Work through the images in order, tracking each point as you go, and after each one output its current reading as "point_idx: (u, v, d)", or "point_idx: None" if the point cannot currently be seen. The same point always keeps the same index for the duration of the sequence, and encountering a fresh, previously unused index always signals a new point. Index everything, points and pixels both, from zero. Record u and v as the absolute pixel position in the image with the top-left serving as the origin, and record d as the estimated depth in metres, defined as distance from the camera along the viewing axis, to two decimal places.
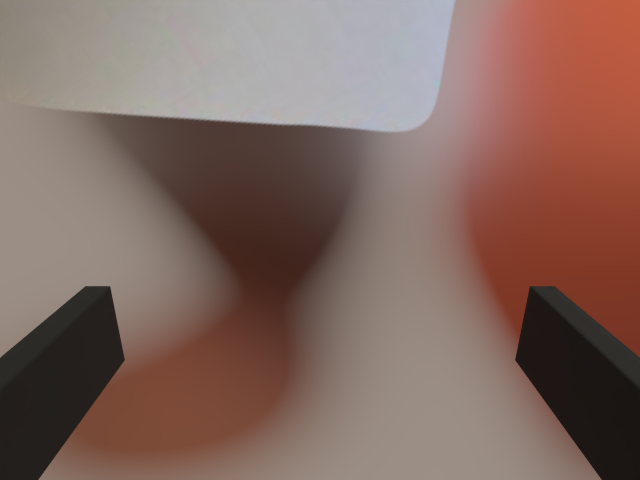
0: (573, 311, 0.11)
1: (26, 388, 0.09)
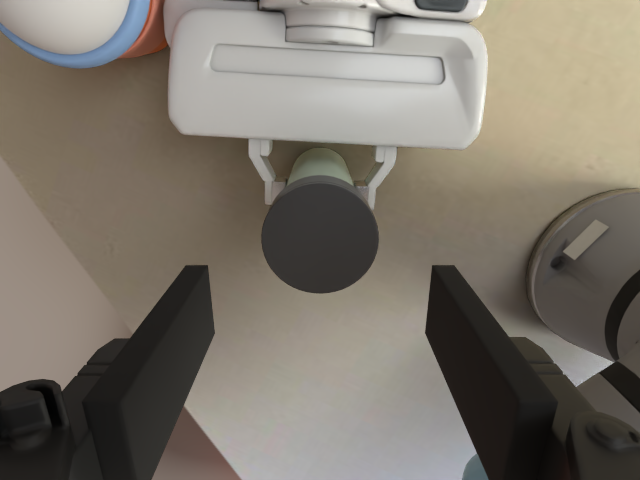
0: (459, 285, 0.13)
1: (169, 345, 0.10)
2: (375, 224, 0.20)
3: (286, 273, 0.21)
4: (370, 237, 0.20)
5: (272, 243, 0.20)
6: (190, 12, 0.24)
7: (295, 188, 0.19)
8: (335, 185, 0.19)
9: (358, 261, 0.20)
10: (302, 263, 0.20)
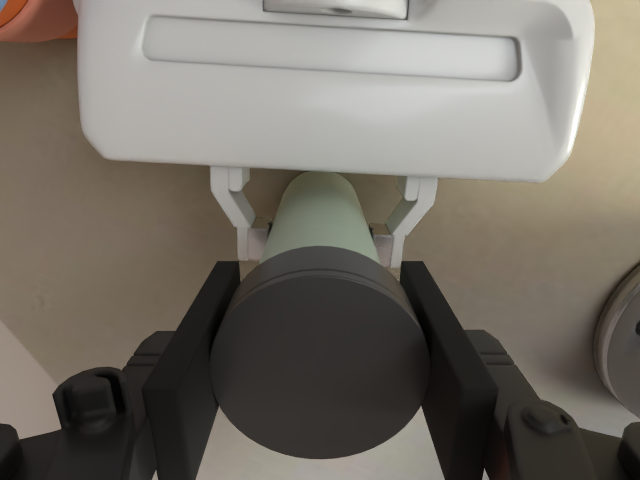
0: (424, 279, 0.13)
1: (212, 337, 0.11)
2: (426, 347, 0.10)
3: (258, 428, 0.11)
4: (415, 369, 0.11)
5: (230, 380, 0.11)
6: None
7: (271, 284, 0.10)
8: (350, 278, 0.10)
9: (391, 409, 0.11)
10: (287, 412, 0.11)
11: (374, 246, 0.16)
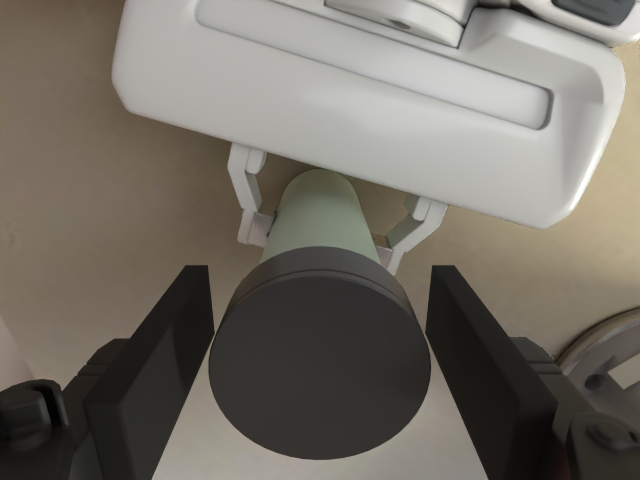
0: (459, 285, 0.13)
1: (169, 345, 0.10)
2: (365, 287, 0.10)
3: (326, 448, 0.11)
4: (380, 309, 0.10)
5: (267, 432, 0.11)
6: None
7: (211, 347, 0.10)
8: (252, 294, 0.10)
9: (401, 352, 0.10)
10: (331, 420, 0.11)
11: None
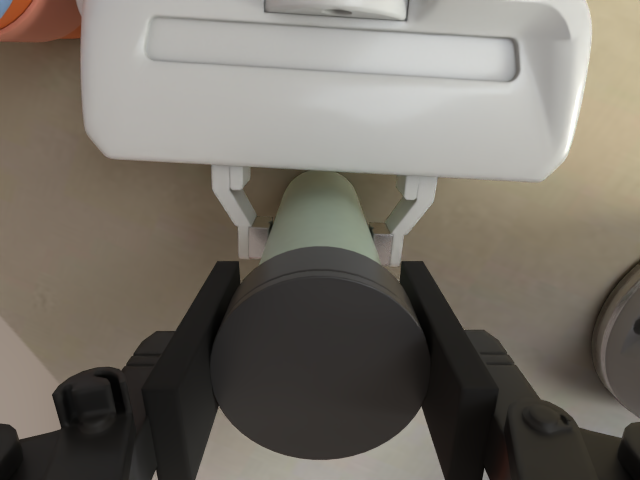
0: (424, 280, 0.13)
1: (211, 337, 0.11)
2: (341, 280, 0.10)
3: (346, 445, 0.11)
4: (361, 298, 0.10)
5: (284, 440, 0.11)
6: None
7: (210, 368, 0.11)
8: (234, 310, 0.10)
9: (394, 337, 0.10)
10: (343, 417, 0.11)
11: (374, 245, 0.16)
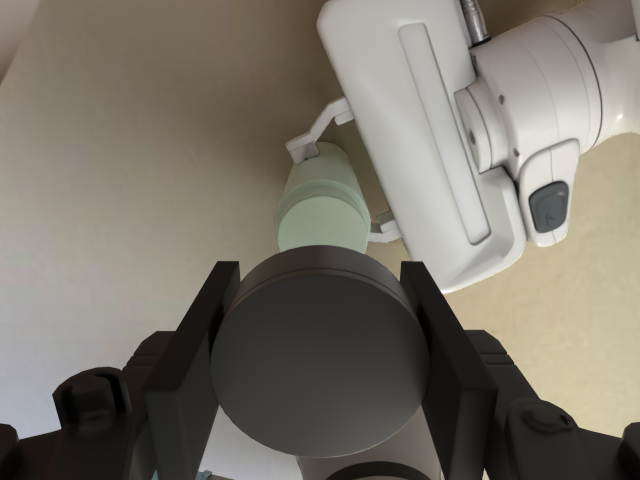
0: (424, 280, 0.13)
1: (212, 337, 0.11)
2: (341, 278, 0.10)
3: (346, 443, 0.11)
4: (361, 297, 0.10)
5: (284, 438, 0.11)
6: None
7: (210, 366, 0.11)
8: (234, 308, 0.10)
9: (394, 336, 0.10)
10: (343, 415, 0.11)
11: None
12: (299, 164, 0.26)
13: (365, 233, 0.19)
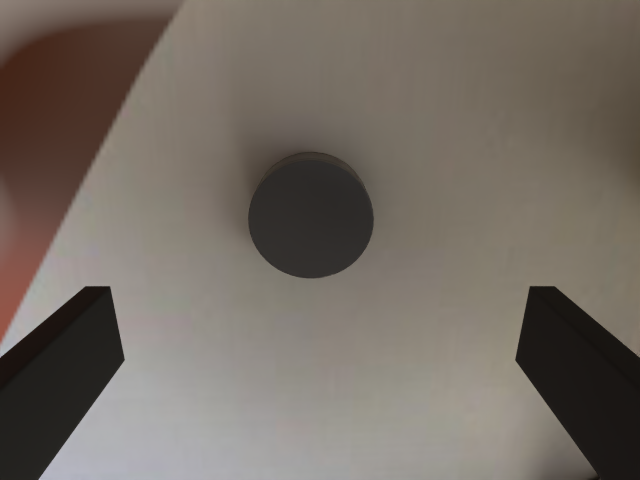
0: (573, 311, 0.11)
1: (26, 388, 0.09)
2: (321, 162, 0.18)
3: (326, 268, 0.20)
4: (333, 173, 0.18)
5: (290, 264, 0.20)
6: None
7: (249, 218, 0.19)
8: (263, 181, 0.18)
9: (352, 197, 0.18)
10: (324, 249, 0.19)
11: None
12: None
13: None
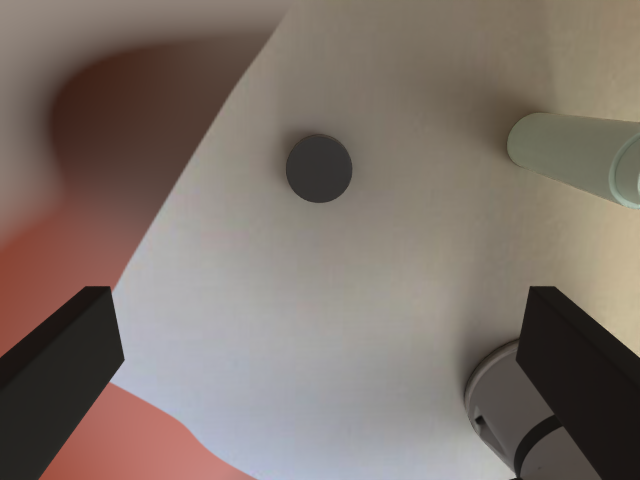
0: (572, 311, 0.11)
1: (26, 388, 0.09)
2: (324, 138, 0.35)
3: (327, 196, 0.36)
4: (330, 144, 0.35)
5: (308, 194, 0.36)
6: None
7: (286, 168, 0.36)
8: (294, 148, 0.35)
9: (340, 157, 0.35)
10: (326, 185, 0.36)
11: None
12: (569, 124, 0.29)
13: None
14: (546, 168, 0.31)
